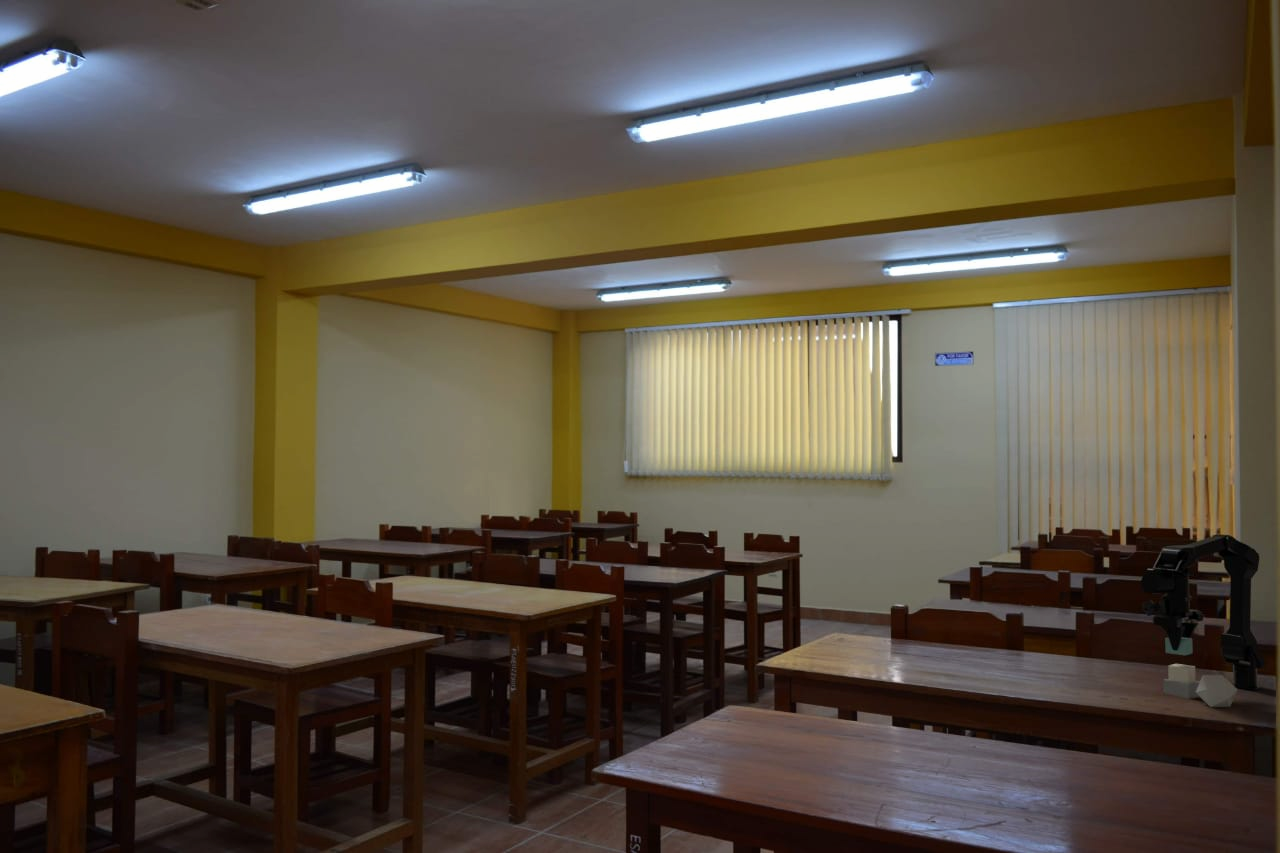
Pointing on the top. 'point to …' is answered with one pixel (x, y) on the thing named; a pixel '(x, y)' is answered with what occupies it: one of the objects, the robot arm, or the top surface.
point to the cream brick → (1181, 673)
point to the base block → (1181, 689)
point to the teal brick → (1180, 647)
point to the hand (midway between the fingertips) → (1179, 649)
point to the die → (1216, 691)
